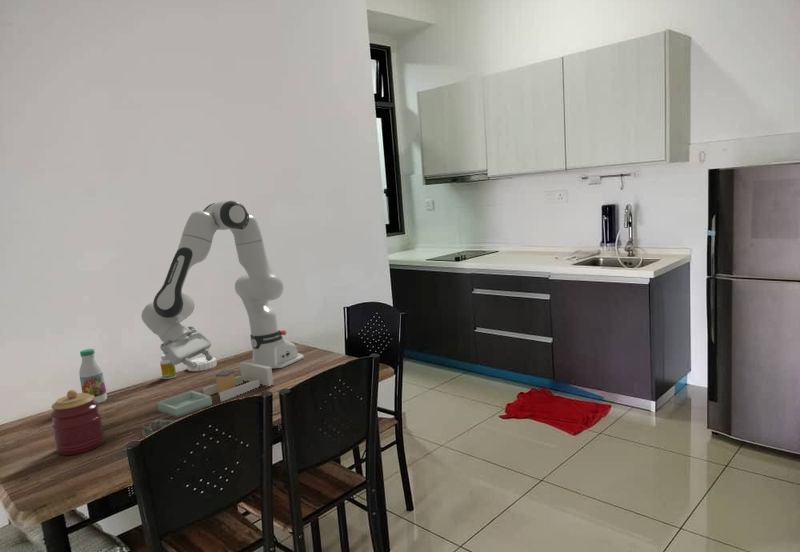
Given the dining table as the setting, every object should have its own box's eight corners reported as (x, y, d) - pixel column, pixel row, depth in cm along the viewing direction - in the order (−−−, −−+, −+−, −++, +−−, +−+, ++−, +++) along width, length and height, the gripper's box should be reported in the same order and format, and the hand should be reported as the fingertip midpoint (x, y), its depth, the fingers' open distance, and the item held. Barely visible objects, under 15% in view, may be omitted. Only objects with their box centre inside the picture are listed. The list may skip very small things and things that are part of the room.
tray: (193, 398, 205) (191, 390, 205) (212, 404, 196) (211, 396, 196) (158, 410, 195) (157, 402, 195) (176, 417, 187) (175, 409, 186)
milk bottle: (81, 403, 213) (72, 351, 210) (103, 396, 218) (94, 346, 215) (88, 406, 207) (79, 354, 205) (110, 400, 213) (101, 348, 210)
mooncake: (183, 372, 242) (182, 364, 241) (194, 364, 253) (193, 357, 253) (211, 370, 241) (209, 362, 241) (220, 362, 253) (219, 354, 253)
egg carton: (138, 438, 173) (136, 425, 172) (157, 428, 180) (155, 416, 179) (166, 440, 169) (163, 427, 168) (183, 430, 176) (181, 417, 175)
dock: (246, 378, 223) (243, 361, 222) (273, 385, 212) (271, 367, 211) (199, 394, 209) (197, 376, 208) (226, 402, 197) (223, 383, 196)
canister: (53, 460, 162) (42, 401, 159) (60, 444, 174) (49, 389, 171) (103, 448, 167) (93, 391, 164) (107, 433, 179) (97, 380, 176)
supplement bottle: (171, 379, 233) (167, 356, 232) (159, 379, 234) (156, 356, 233) (179, 374, 238) (175, 352, 237) (167, 375, 239) (164, 353, 238)
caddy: (225, 391, 210) (222, 370, 209) (236, 391, 209) (233, 370, 208) (218, 395, 206) (215, 374, 205) (229, 395, 204) (226, 374, 203)
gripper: (162, 339, 199) (189, 366, 197) (197, 325, 218) (223, 349, 217) (153, 351, 201) (180, 378, 199) (189, 336, 220) (214, 361, 218)
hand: (203, 363), depth 208 cm, fingers open, 8 cm apart
